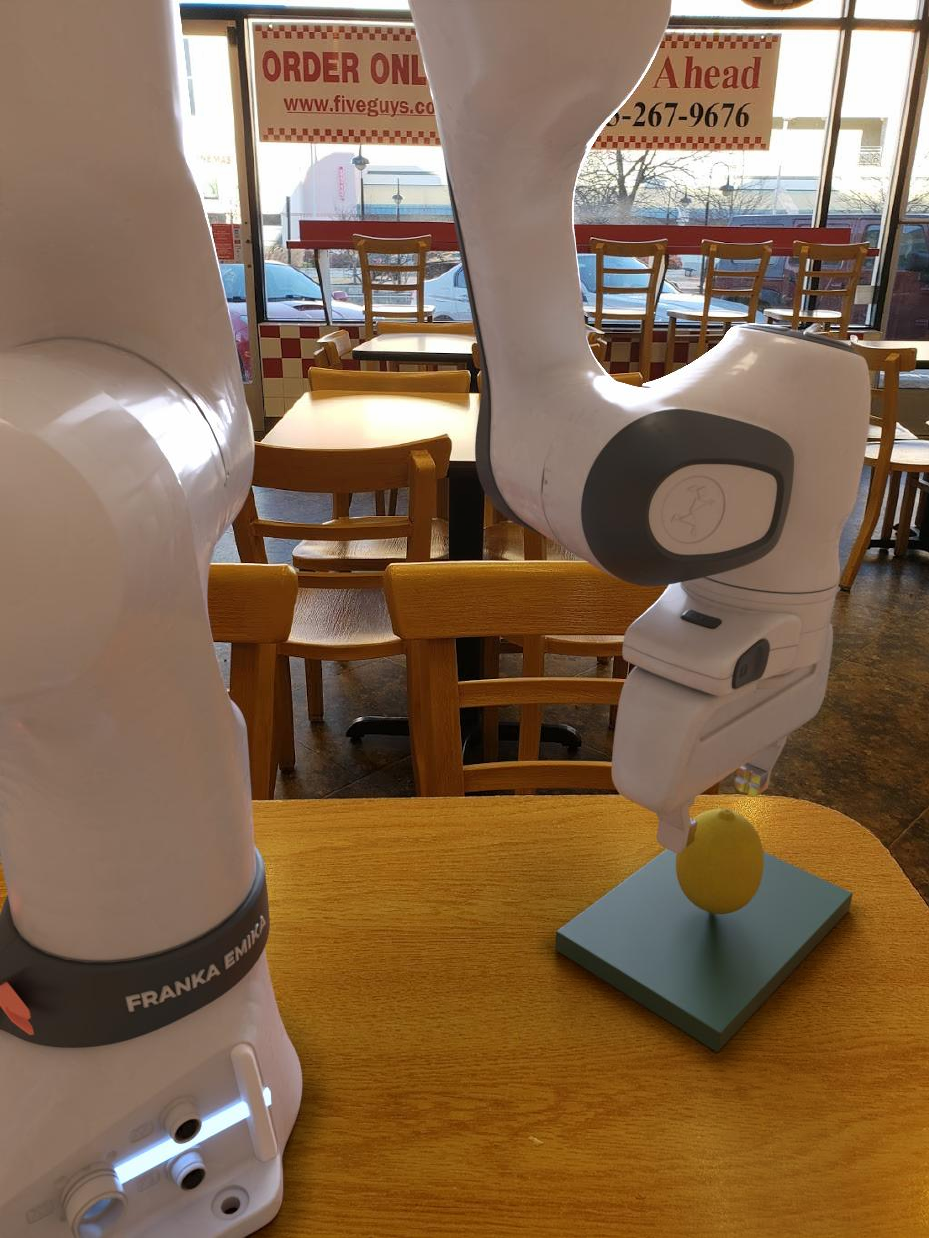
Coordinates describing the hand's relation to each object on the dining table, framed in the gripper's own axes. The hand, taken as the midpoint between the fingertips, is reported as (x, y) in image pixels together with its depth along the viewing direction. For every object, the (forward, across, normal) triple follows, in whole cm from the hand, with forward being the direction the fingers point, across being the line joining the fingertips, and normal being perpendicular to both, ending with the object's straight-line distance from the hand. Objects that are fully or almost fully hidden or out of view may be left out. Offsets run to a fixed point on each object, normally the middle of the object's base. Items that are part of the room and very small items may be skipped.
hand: (714, 816), depth 60 cm
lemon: (+8, -1, +1) cm, 8 cm away
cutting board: (+9, -1, 0) cm, 9 cm away
